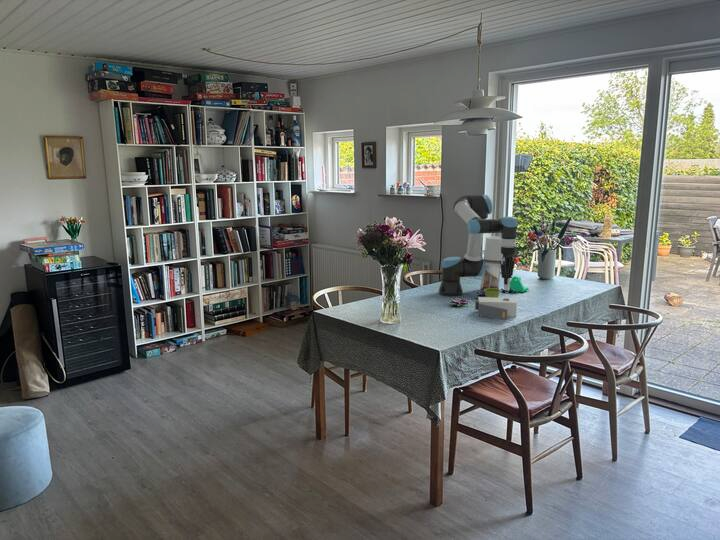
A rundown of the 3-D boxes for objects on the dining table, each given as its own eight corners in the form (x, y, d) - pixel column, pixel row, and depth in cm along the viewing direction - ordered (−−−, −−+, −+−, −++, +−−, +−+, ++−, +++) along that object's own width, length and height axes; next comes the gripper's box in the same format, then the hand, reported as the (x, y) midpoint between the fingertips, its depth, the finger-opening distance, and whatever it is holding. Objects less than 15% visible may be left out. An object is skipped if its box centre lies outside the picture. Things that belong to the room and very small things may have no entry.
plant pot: (493, 301, 328) (494, 287, 326) (503, 305, 319) (503, 291, 317) (480, 303, 324) (481, 289, 323) (489, 306, 316) (490, 292, 314)
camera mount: (529, 291, 351) (529, 275, 349) (523, 293, 346) (523, 277, 344) (512, 288, 360) (513, 273, 358) (506, 290, 355) (507, 275, 352)
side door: (477, 314, 297) (477, 304, 296) (479, 313, 299) (479, 303, 298) (505, 320, 286) (506, 309, 285) (507, 320, 287) (507, 309, 286)
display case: (481, 291, 347) (487, 238, 340) (480, 287, 358) (486, 235, 350) (499, 293, 346) (505, 239, 338) (498, 289, 356) (504, 237, 348)
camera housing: (475, 315, 299) (476, 300, 297) (474, 310, 309) (475, 295, 307) (515, 316, 296) (516, 301, 294) (513, 311, 306) (514, 296, 304)
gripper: (508, 248, 277) (506, 293, 282) (520, 245, 286) (518, 288, 291) (495, 247, 282) (494, 291, 287) (508, 244, 291) (506, 286, 296)
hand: (506, 289), depth 289 cm, fingers closed
